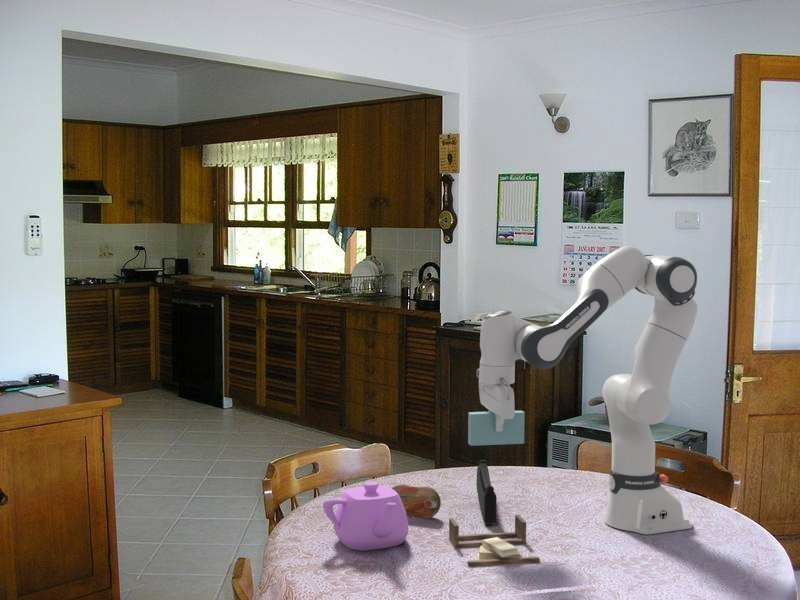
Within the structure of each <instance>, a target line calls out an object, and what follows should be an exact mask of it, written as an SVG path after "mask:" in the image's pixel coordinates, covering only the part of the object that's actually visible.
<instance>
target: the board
mask: <svg viewBox="0 0 800 600" xmlns="http://www.w3.org/2000/svg"><path fill="white" fill-rule="evenodd" d="M525 414H526V413H525V411H523V410H515V415H514V418H513V419H505V420H504V423H503V431H501V432H497V431H496V430H495V423H496V418H495V414H494V413H493V412H489V411H473V412H471V411H469V412H468V414H467V415H468V419H467V424H468V426H467V428H468V430H467V444H468V445H469V446H470V447H471V446H472V447H473V446H492V445H494V446H496V445H500V446H501V445H519V444H520V445H521V444H522V445H523V444H525V422H526V421H525V416H526V415H525Z"/></svg>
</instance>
